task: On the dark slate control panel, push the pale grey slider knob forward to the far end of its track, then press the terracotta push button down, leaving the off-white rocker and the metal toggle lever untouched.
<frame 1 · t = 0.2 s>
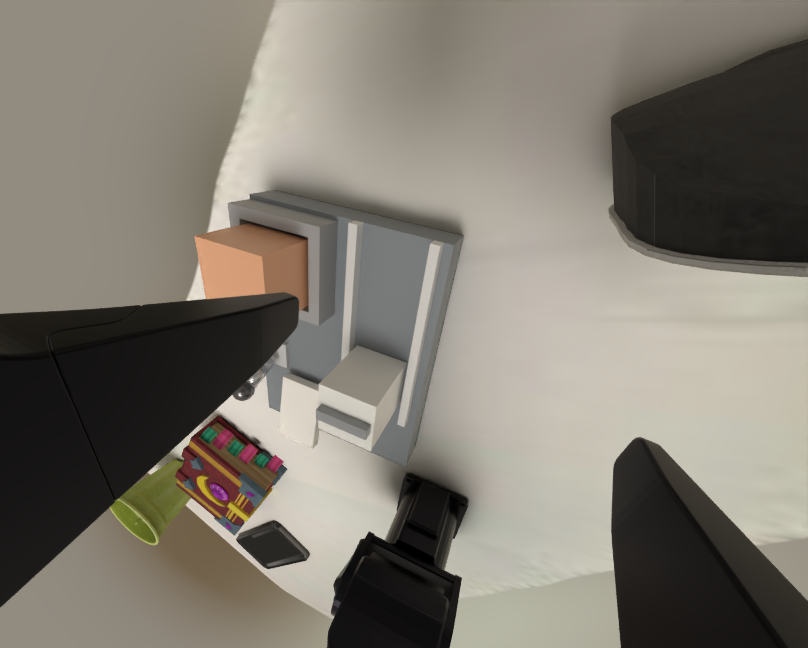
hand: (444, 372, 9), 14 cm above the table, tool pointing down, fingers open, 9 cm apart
rocker: (300, 411, 29), point 4 cm above the table, hinge at 10.0°
slider: (361, 397, 23), point 5 cm above the table, slide at 0.0 cm
decorative book: (243, 460, 46), on the table
button: (257, 274, 21), point 6 cm above the table, slide at 0.0 cm
plant pot: (188, 471, 54), on the table
panel: (352, 333, 28), on the table
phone: (274, 540, 54), on the table
toggle: (250, 381, 26), point 6 cm above the table, hinge at -20.0°
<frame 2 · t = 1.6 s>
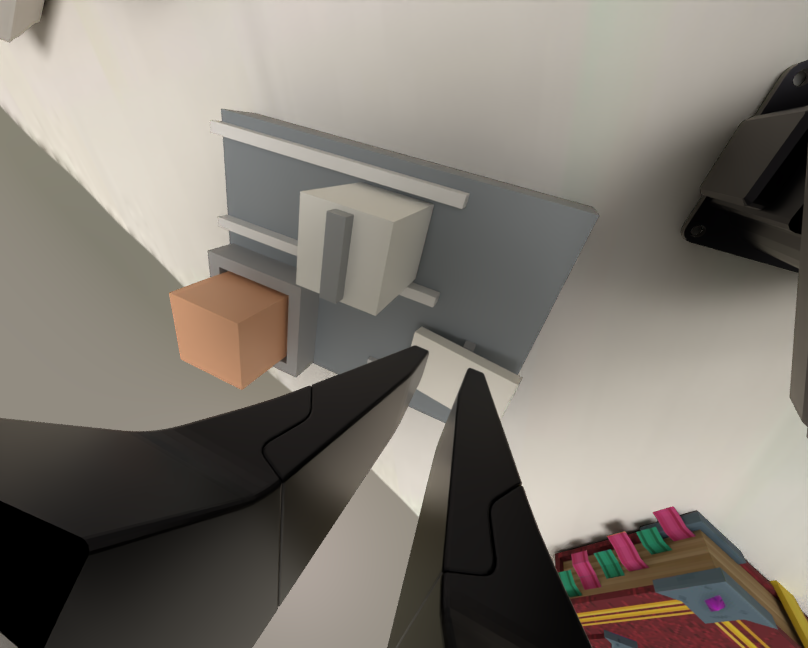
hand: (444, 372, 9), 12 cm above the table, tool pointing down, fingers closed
rocker: (456, 379, 19), point 4 cm above the table, hinge at 10.0°
slider: (364, 244, 15), point 5 cm above the table, slide at 0.0 cm
decorative book: (682, 588, 24), on the table
button: (235, 327, 20), point 6 cm above the table, slide at 0.0 cm
panel: (380, 275, 22), on the table
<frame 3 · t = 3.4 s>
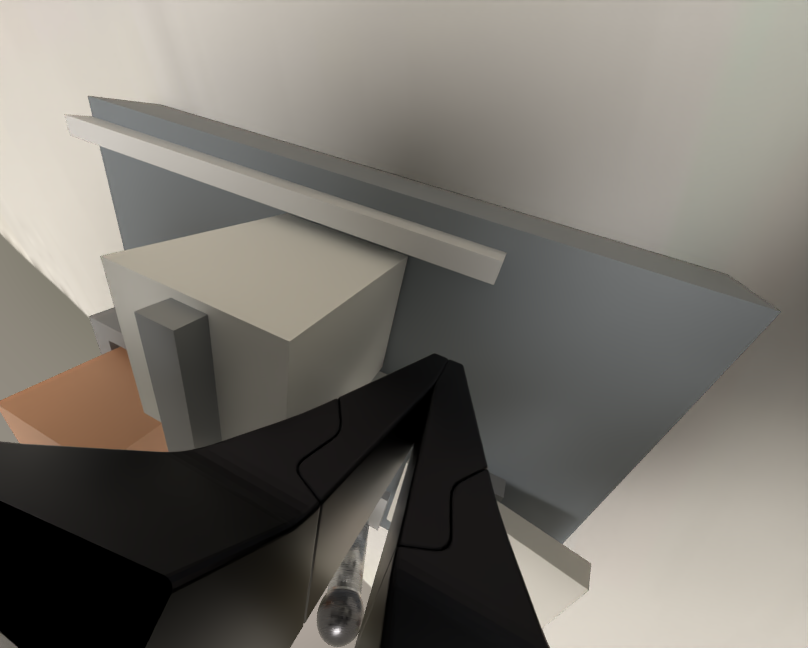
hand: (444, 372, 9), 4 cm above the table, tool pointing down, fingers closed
rocker: (473, 537, 11), point 4 cm above the table, hinge at 10.0°
slider: (277, 334, 8), point 5 cm above the table, slide at 0.9 cm, touching gripper
button: (128, 437, 13), point 6 cm above the table, slide at 0.0 cm
panel: (358, 347, 15), on the table
toggle: (345, 586, 12), point 6 cm above the table, hinge at -20.0°
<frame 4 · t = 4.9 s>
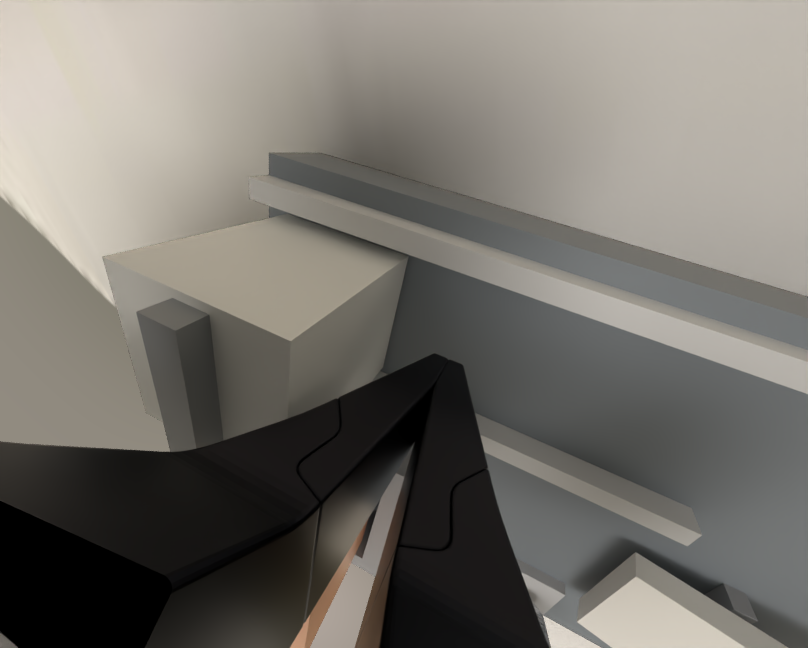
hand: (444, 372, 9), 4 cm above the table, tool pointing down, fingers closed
slider: (278, 334, 8), point 5 cm above the table, slide at 8.2 cm, touching gripper
button: (285, 530, 11), point 6 cm above the table, slide at 0.0 cm
panel: (521, 417, 13), on the table
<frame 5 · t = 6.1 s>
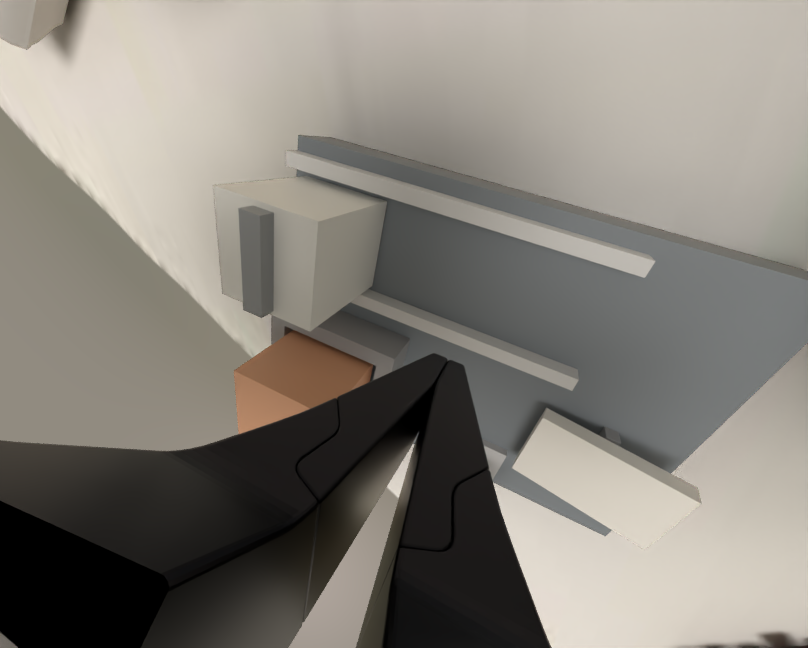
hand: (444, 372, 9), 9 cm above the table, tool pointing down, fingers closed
rocker: (594, 476, 15), point 4 cm above the table, hinge at 10.0°
slider: (303, 247, 13), point 5 cm above the table, slide at 8.4 cm
button: (306, 402, 16), point 6 cm above the table, slide at 0.0 cm
panel: (476, 332, 18), on the table
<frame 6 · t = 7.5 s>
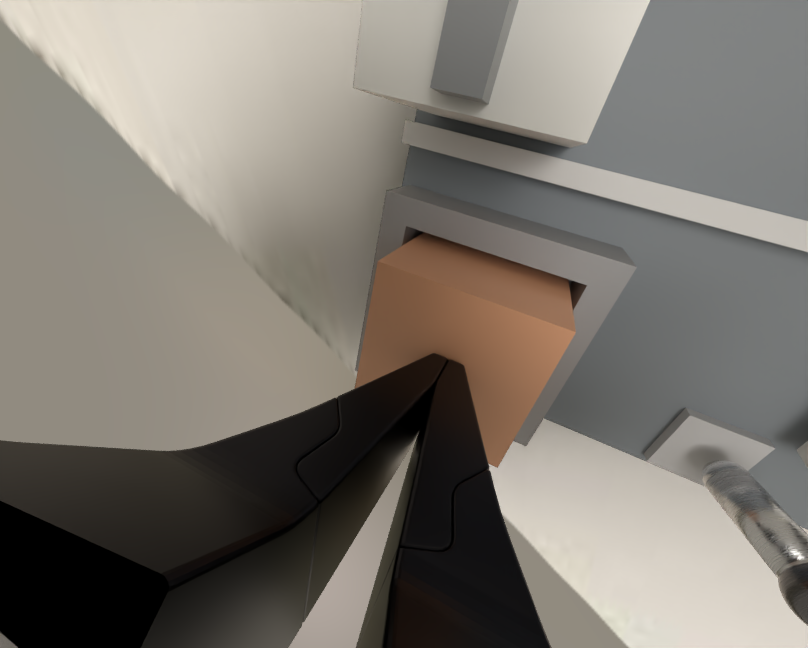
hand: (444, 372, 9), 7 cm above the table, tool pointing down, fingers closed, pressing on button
slider: (518, 0, 6), point 5 cm above the table, slide at 8.4 cm
button: (459, 337, 10), point 5 cm above the table, slide at -1.1 cm, touching gripper
panel: (706, 247, 11), on the table
toggle: (796, 560, 8), point 6 cm above the table, hinge at -20.0°
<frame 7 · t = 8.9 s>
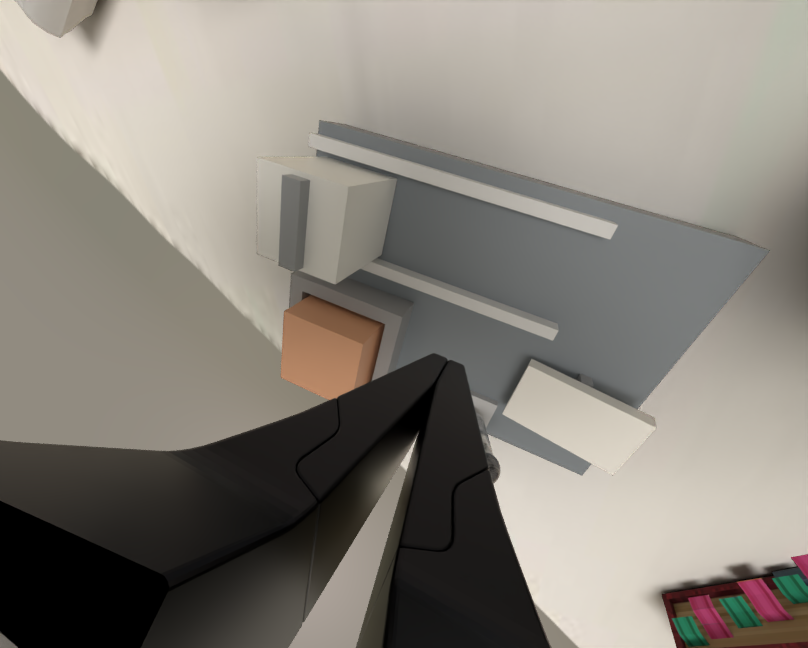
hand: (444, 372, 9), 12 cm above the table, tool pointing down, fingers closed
rocker: (571, 415, 17), point 4 cm above the table, hinge at 10.0°
slider: (326, 215, 15), point 5 cm above the table, slide at 8.4 cm
decorative book: (804, 632, 23), on the table
button: (336, 344, 20), point 5 cm above the table, slide at -1.5 cm
panel: (471, 299, 20), on the table
toggle: (481, 455, 18), point 6 cm above the table, hinge at -20.0°
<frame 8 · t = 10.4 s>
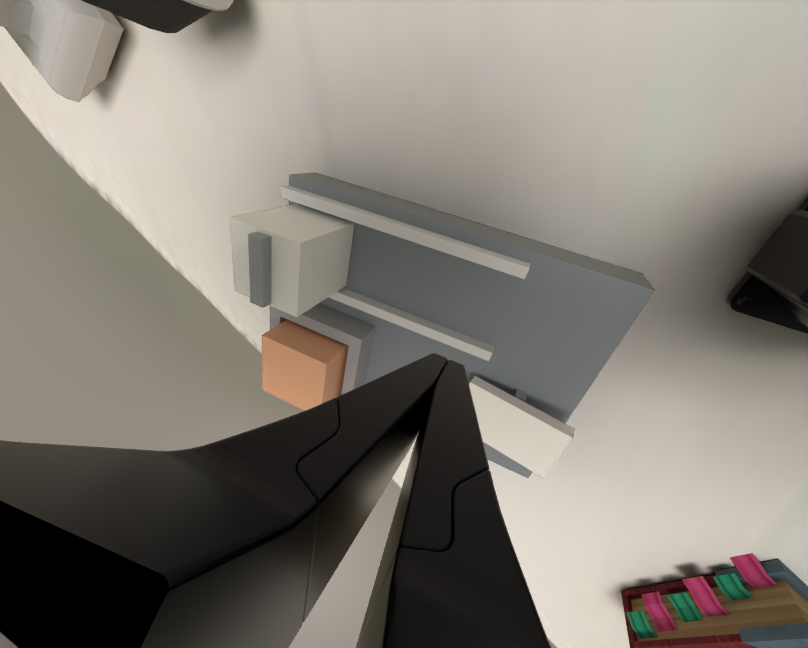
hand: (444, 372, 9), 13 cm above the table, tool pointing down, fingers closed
rocker: (508, 425, 20), point 4 cm above the table, hinge at 10.0°
slider: (293, 257, 18), point 5 cm above the table, slide at 8.4 cm
decorative book: (752, 628, 25), on the table
button: (310, 361, 23), point 5 cm above the table, slide at -1.5 cm
panel: (429, 321, 23), on the table
stamp: (100, 27, 23), on the table
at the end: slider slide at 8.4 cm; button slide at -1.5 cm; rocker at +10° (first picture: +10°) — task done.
